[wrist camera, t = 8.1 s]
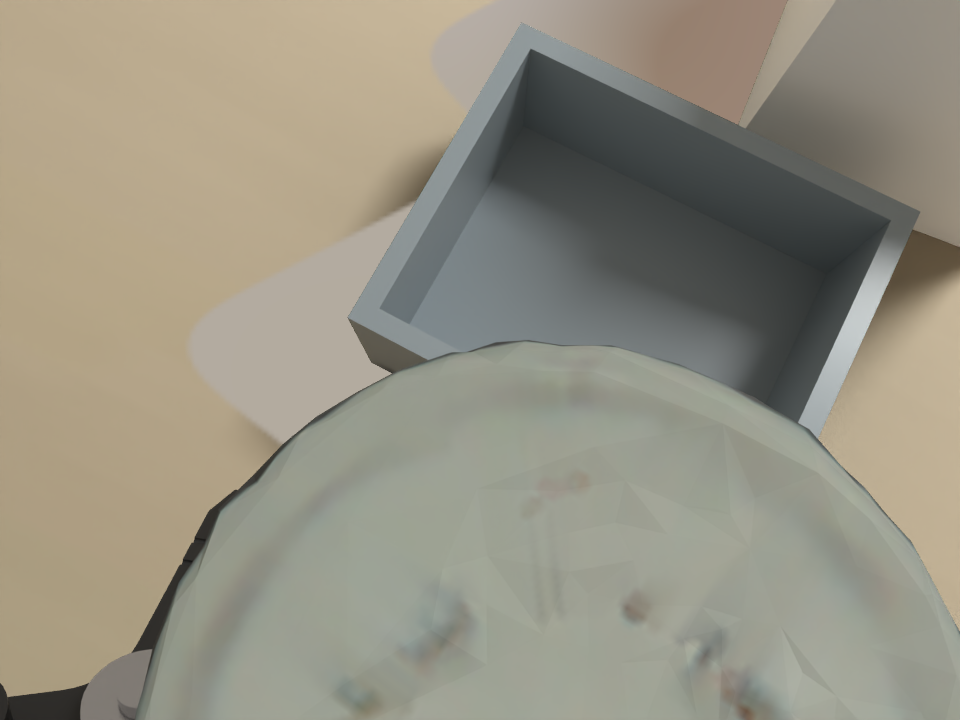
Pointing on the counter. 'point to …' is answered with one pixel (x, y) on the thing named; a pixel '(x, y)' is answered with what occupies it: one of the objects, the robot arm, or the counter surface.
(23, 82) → the counter surface
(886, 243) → the tote
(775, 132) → the milk
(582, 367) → the sauce bottle
